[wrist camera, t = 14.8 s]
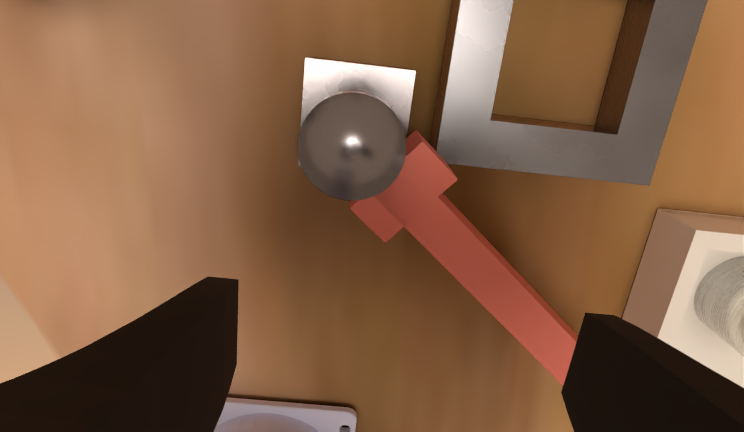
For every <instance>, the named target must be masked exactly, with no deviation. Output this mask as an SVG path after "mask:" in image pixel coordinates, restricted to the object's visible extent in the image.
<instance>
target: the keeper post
mask: <svg viewBox="0 0 744 432" xmlns="http://www.w3.org/2000/svg"><path fill="white" fill-rule="evenodd" d="M415 74H416V70H412V69H404V68H395V67H387V66H379V65H370V64H362V63H353V62H345V61H336V60H328V59H319V58H311V57H306V58H305V68H304V83H303V98H302V114H301V129H300V132H299V136H298V143H297V150H298V157H299V160H298V166H301V167H302V169H303V171H304V173H305V174H306V176H307V178H308V179H309V180H310V181H311V182H312V184H313V185H314V186H315V187H317V188H318V189H319V190H321V191H322V192H324V193H325V194H327V195H329V196H332V197H334V198H338V199H342V200H350V201H355V200H363V199H368V198H370V197H373V196H375V195H377V194H379V193H381V192H383V191H384V190H386V189H387V188H388V187H389V186H390V185H391V184H392V183H393V182H394V181H395V179H396V178H397V177H398V175H399V173H400V171H401V169H402V167H403V164H404V161H405V156H406V138H407V132H408V124H409V117H410V110H411V103H412V96H413V88H414V81H415Z"/></svg>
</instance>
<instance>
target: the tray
mask: <svg viewBox="0 0 744 432" xmlns="http://www.w3.org/2000/svg"><path fill="white" fill-rule="evenodd" d="M740 256H744V217H738V216H729V215H719V214H710V213H701V212H691V211H682V210H672V209H663V208H658V210H657V213H656V216H655V219H654V222H653V225H652V228H651V231H650V234H649V237H648V240H647V243H646V246H645V249H644V253H643V256H642V259H641V262H640V265H639V268H638V271H637V274H636V277H635V280H634V283H633V286H632V289H631V292H630V295H629V298H628V302H627V305H626V308H625V311H624V314H623V317H622V319H623V320H625V321H627V322H629V323H631V324H633V325H635V326H637V327H639V328H641V329H643V330H644V331H646V332H648V333H650V334H652V335H653V336H655V337H657V338H659V339H660V340H662V341H664V342H665V343H667V344H669V345H671V346H672V347H674V348H676V349H677V350H679V351H681V352H682V353H684V354H686V355H688V356H689V357H691V358H693V359H694V360H696V361H698V362H699V363H701V364H703V365H705V366H706V367H708V368H710V369H711V370H713V371H715V372H717V373H718V374H720V375H722V376H724V377H725V378H727V379H729V380H731V381H732V382H734V383H736V384H738V385H739V386H741V387H743V388H744V357H743V356H742V355H741V354H739V353H738V352H737V351H736V350H735V349H733V348H732V347H731V346H730V345H729V344H728V343H726V342H725V341H724V340H723V339H722V338H720V337H719V336H718V335H717V334H716V333H714V332H713V331H712V330H711V329H710V328H708V327H707V326H706V325H705V324H704V323H702V322H701V320H700V319H699V318H698V316H697V314H696V312H695V308H694V296H695V292H696V289H697V287H698V285H699V283H700V282H701V280H702V279H703V277H704V276H705V275H706V274H707V273H708V272H709V271H710V270H711V269H713V268H714V267H715V266H717V265H719V264H720V263H722V262H724V261H726V260H729V259H732V258H735V257H740Z"/></svg>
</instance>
